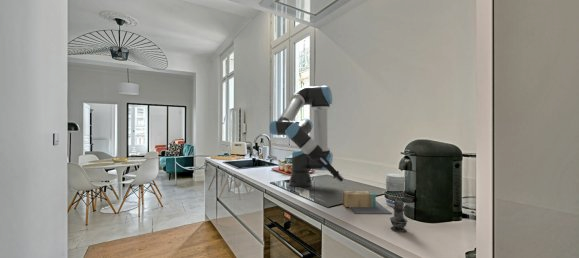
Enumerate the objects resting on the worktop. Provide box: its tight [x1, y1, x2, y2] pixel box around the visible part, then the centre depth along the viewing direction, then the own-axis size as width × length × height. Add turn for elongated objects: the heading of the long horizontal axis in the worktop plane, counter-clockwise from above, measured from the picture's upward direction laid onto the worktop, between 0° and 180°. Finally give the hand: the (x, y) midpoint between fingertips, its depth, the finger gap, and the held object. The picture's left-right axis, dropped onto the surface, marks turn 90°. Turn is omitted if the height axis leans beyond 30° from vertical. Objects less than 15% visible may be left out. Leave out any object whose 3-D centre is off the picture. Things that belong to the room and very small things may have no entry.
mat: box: [349, 200, 393, 215], centre depth 116 cm, size 22×16×1 cm
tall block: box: [342, 190, 377, 208], centre depth 116 cm, size 6×6×14 cm
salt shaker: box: [389, 197, 409, 234], centre depth 88 cm, size 6×6×12 cm
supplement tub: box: [385, 173, 405, 208], centre depth 118 cm, size 10×10×15 cm
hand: (346, 184), depth 116 cm, fingers closed
